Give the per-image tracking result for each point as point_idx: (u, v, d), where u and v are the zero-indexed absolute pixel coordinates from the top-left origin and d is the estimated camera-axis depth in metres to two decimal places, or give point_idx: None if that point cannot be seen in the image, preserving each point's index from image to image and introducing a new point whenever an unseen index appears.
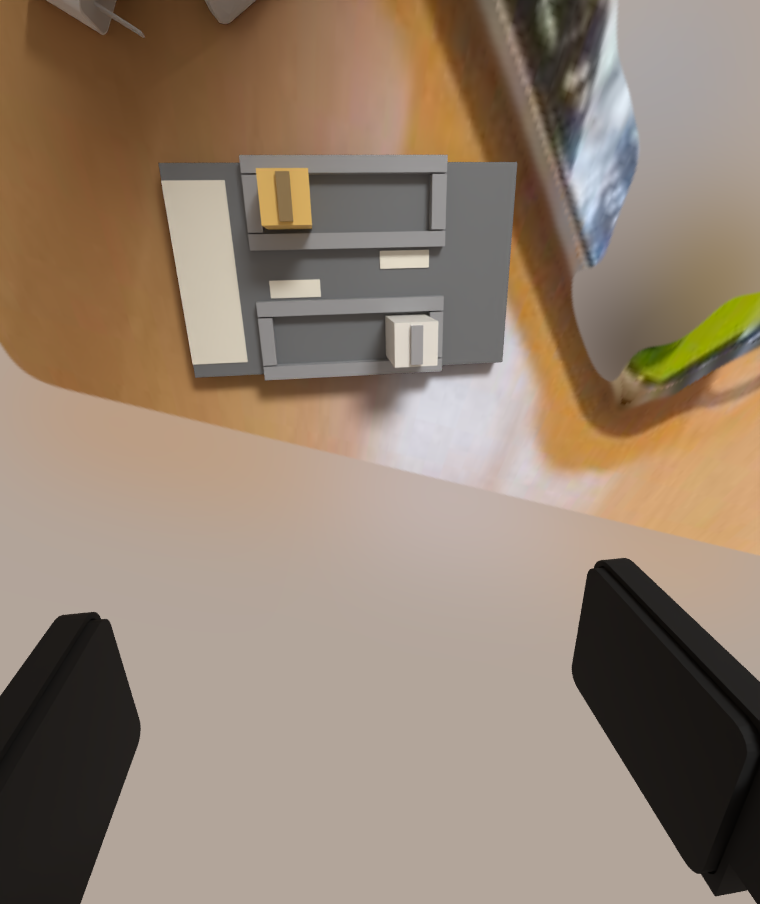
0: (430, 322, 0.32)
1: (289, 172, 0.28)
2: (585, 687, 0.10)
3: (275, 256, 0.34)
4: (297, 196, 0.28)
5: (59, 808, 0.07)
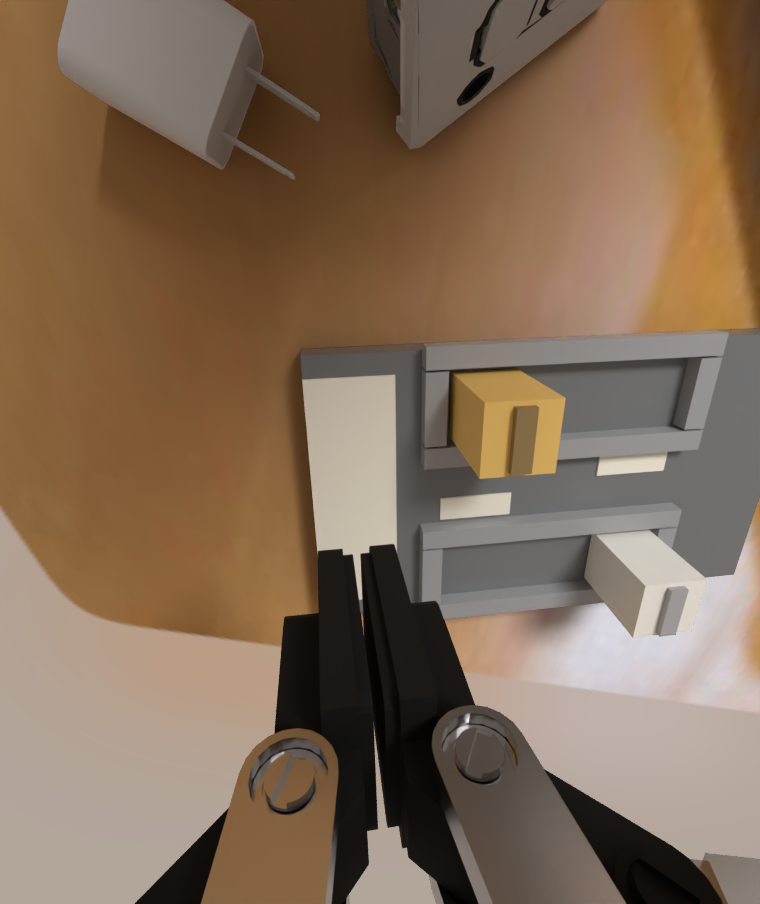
0: (695, 581, 0.22)
1: None
2: None
3: (453, 467, 0.23)
4: (542, 437, 0.18)
5: None
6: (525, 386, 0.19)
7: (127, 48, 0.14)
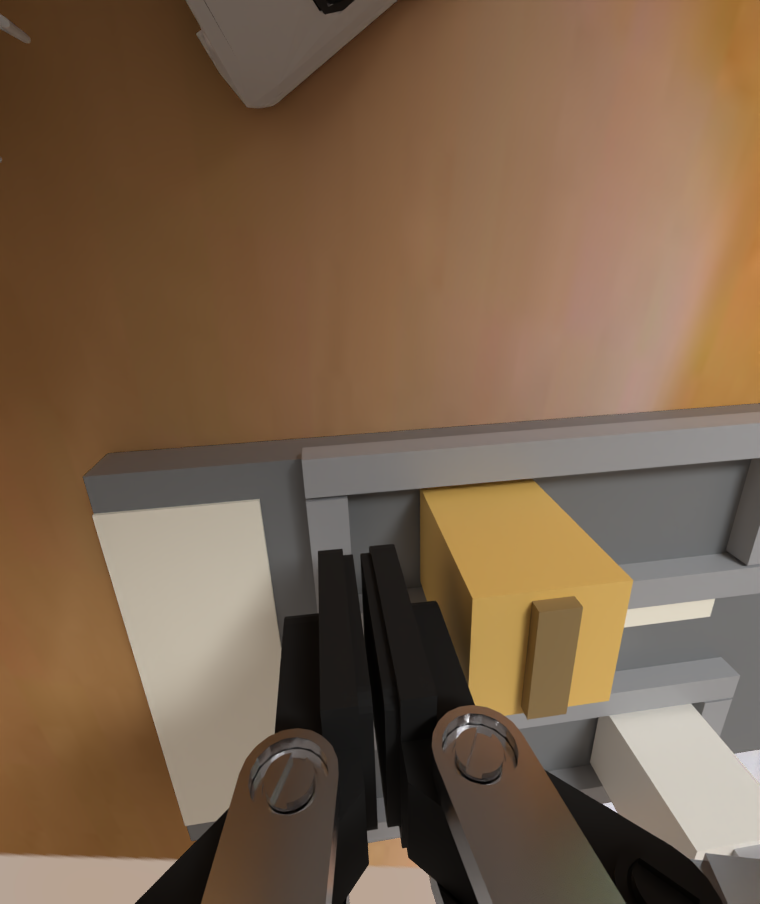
0: None
1: (576, 600, 0.09)
2: None
3: None
4: (585, 647, 0.09)
5: None
6: (548, 534, 0.10)
7: None
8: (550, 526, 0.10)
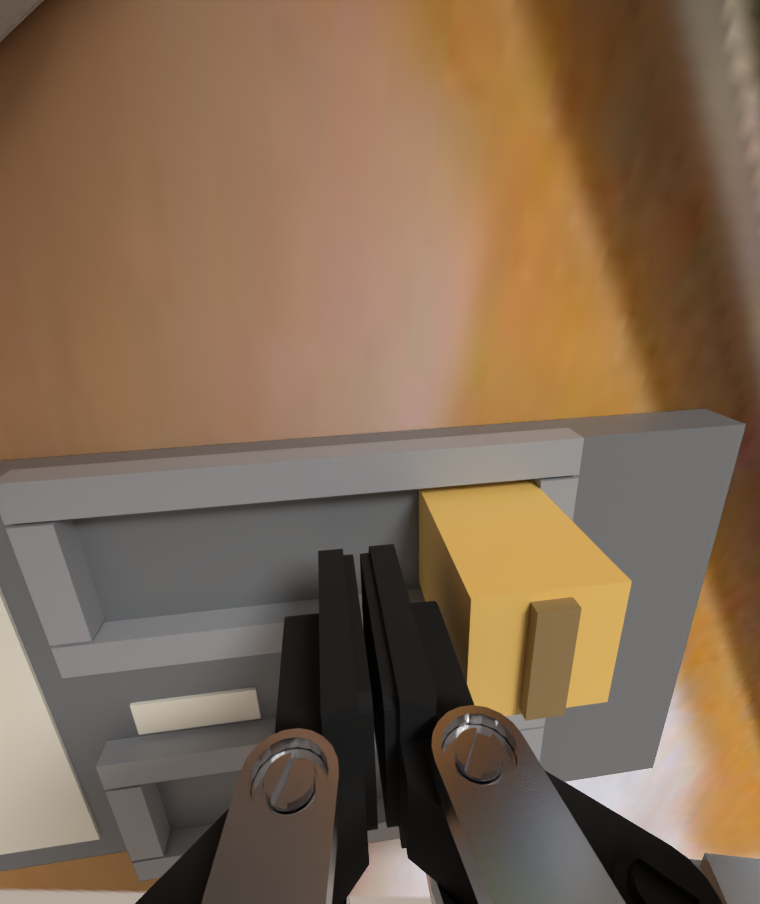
0: None
1: (575, 601, 0.09)
2: None
3: None
4: (584, 648, 0.09)
5: None
6: (547, 535, 0.10)
7: None
8: (549, 527, 0.10)
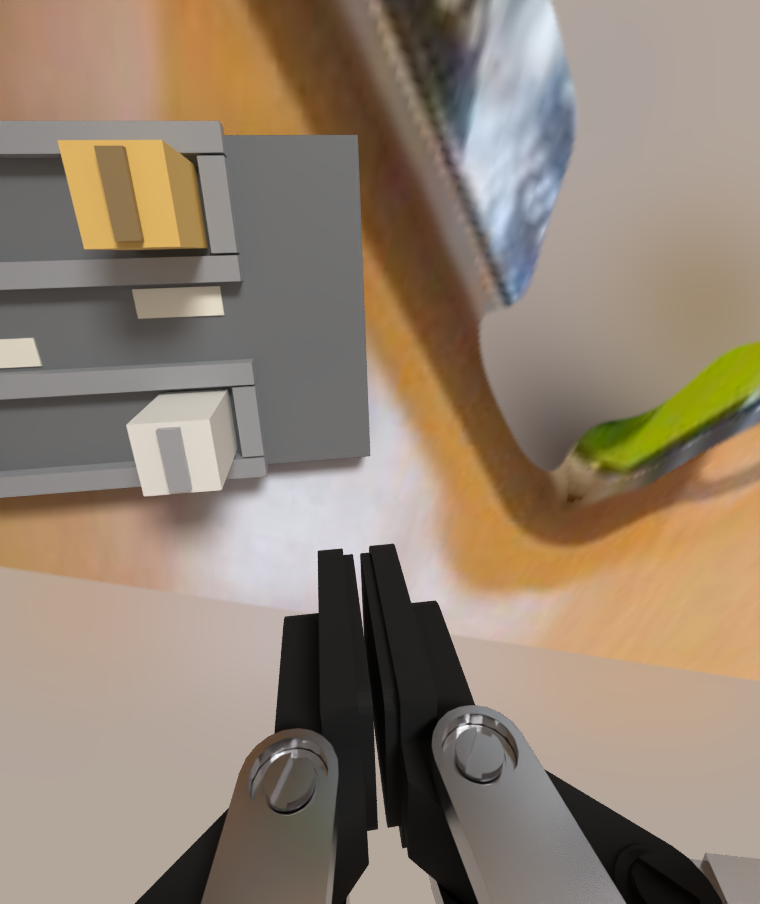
0: (194, 421, 0.18)
1: (125, 148, 0.14)
2: None
3: None
4: (148, 194, 0.15)
5: None
6: None
7: None
8: None
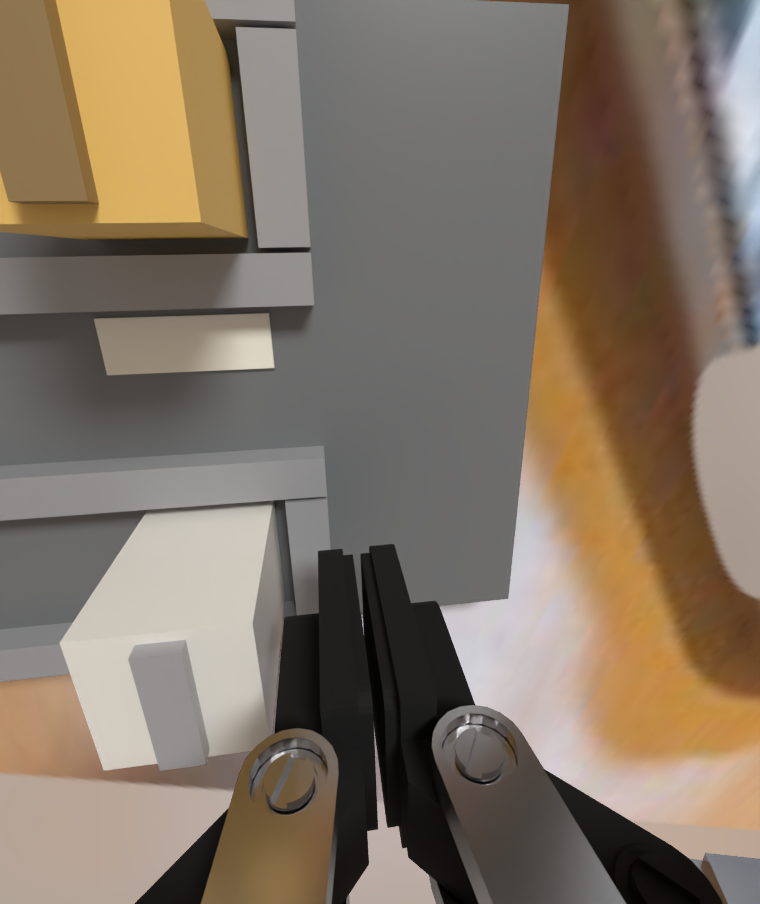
0: (219, 628, 0.08)
1: None
2: None
3: None
4: (107, 61, 0.05)
5: None
6: None
7: None
8: None
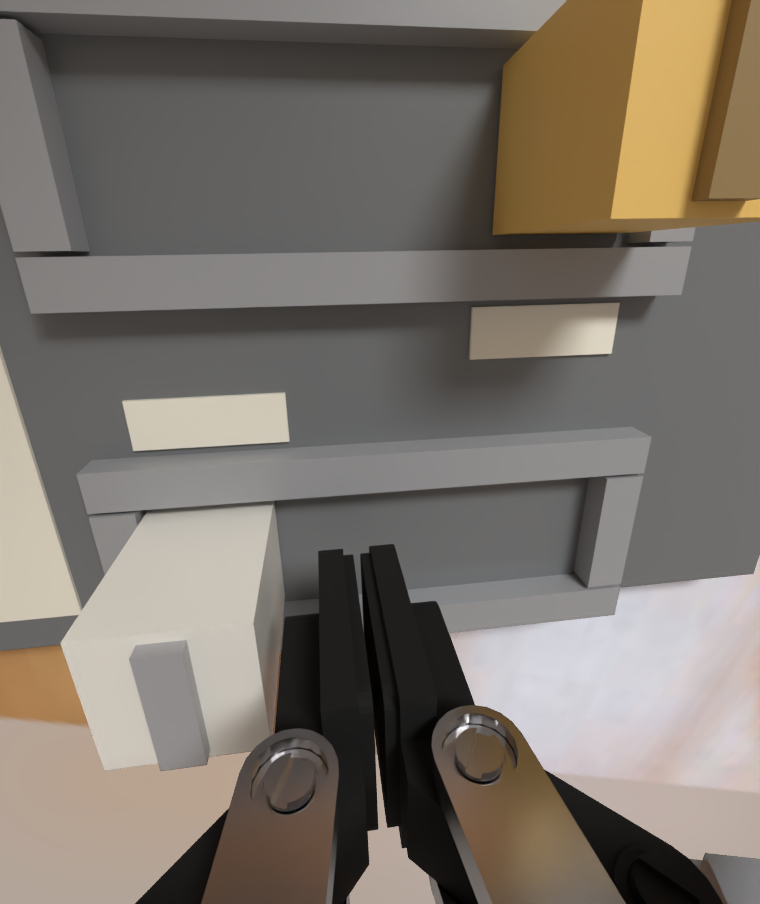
0: (220, 628, 0.08)
1: None
2: None
3: (137, 327, 0.10)
4: None
5: None
6: None
7: None
8: None
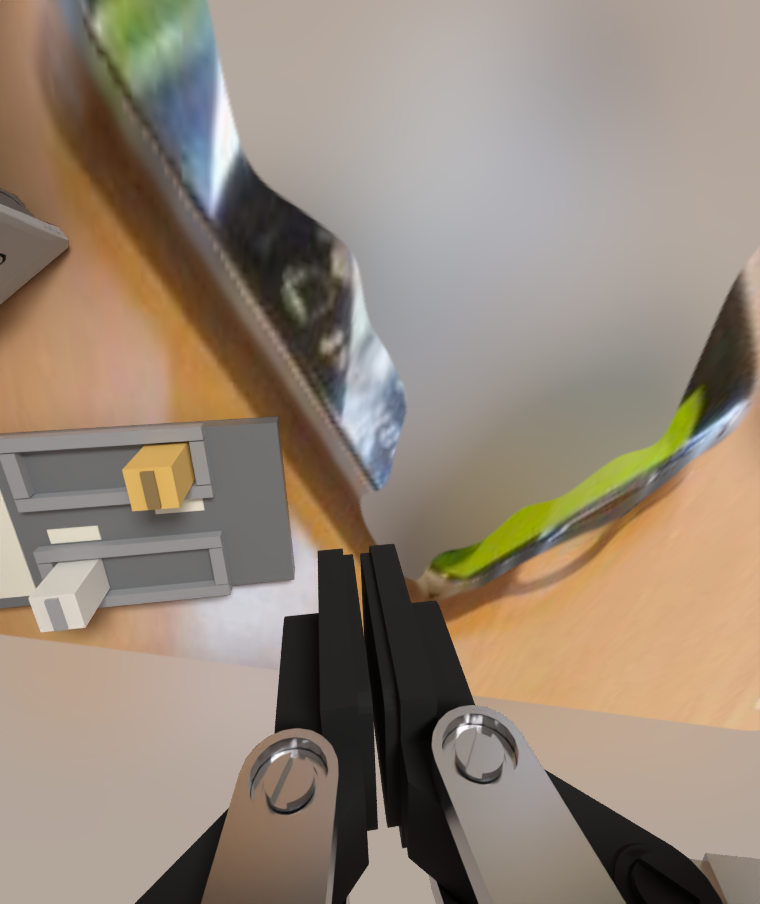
0: (66, 594, 0.33)
1: (153, 471, 0.30)
2: None
3: (49, 510, 0.35)
4: (164, 487, 0.31)
5: None
6: (165, 457, 0.32)
7: None
8: (169, 455, 0.32)
